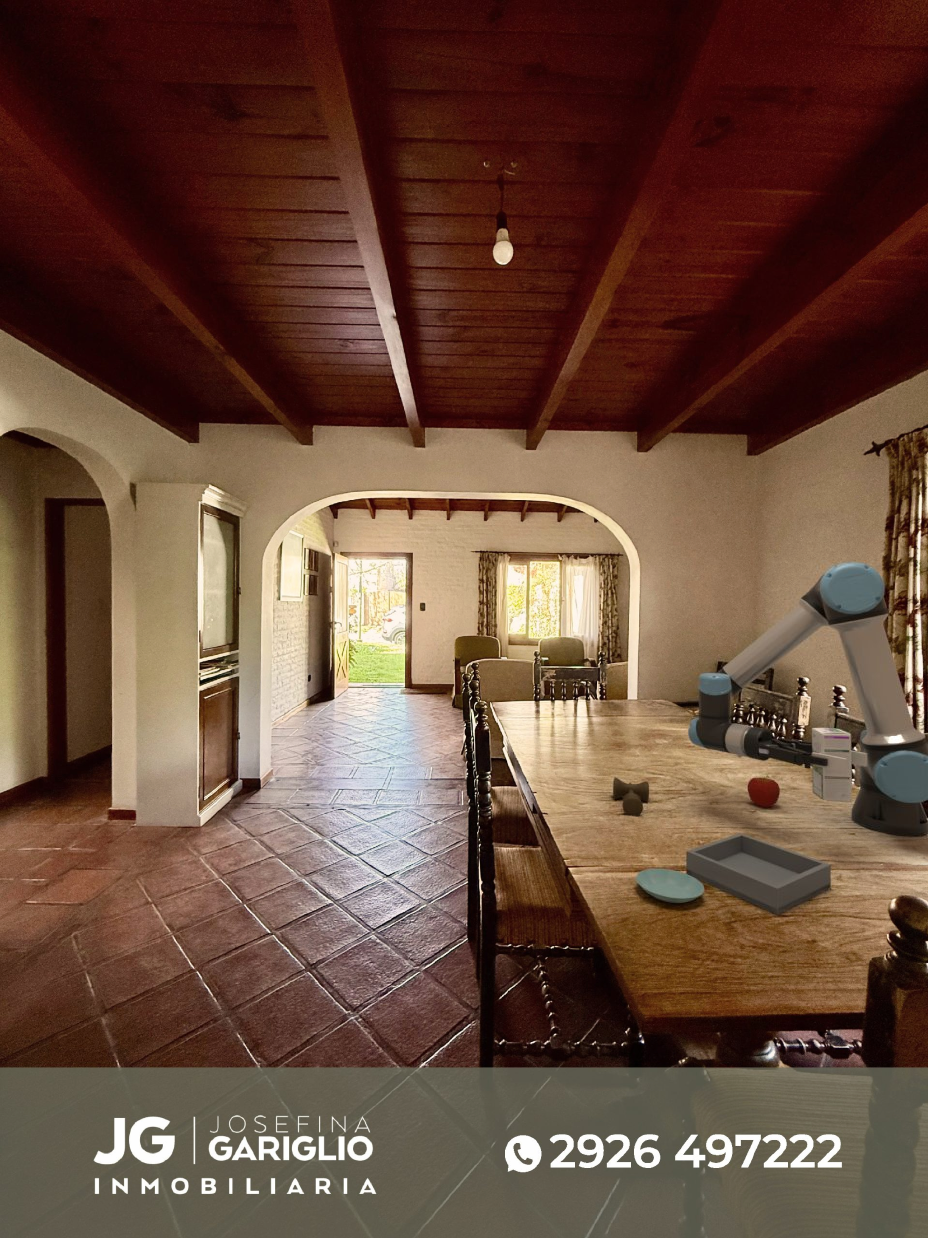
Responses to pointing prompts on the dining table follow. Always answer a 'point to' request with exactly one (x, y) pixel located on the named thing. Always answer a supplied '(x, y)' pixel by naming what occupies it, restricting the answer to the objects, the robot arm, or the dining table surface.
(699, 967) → the dining table surface
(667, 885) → the saucer
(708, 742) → the robot arm
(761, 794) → the apple
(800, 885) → the tray
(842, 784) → the syrup box
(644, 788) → the kendama
